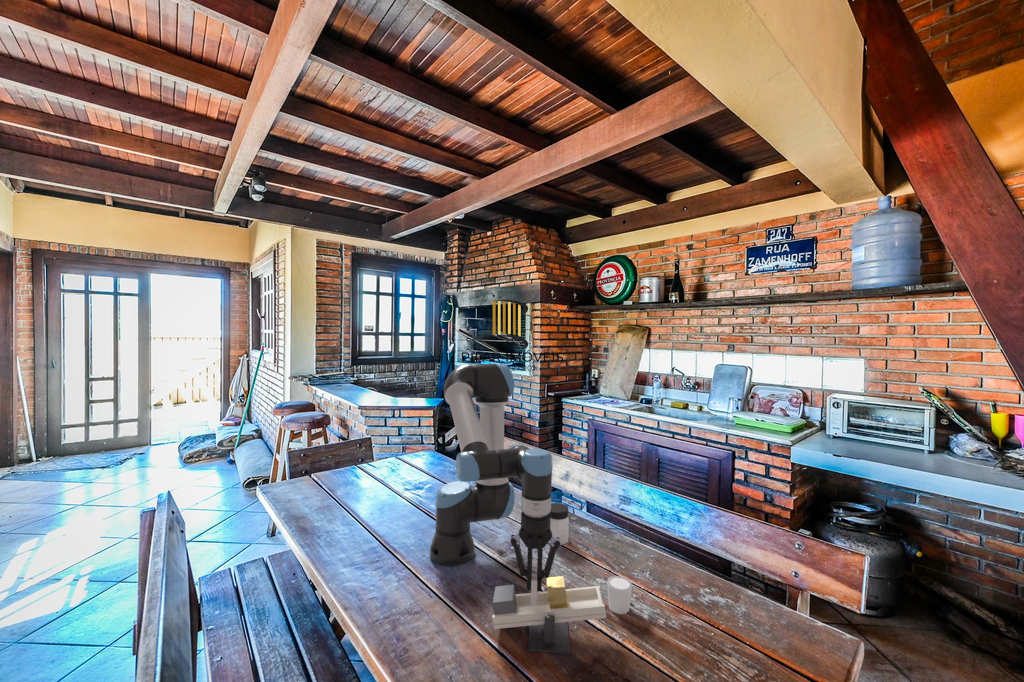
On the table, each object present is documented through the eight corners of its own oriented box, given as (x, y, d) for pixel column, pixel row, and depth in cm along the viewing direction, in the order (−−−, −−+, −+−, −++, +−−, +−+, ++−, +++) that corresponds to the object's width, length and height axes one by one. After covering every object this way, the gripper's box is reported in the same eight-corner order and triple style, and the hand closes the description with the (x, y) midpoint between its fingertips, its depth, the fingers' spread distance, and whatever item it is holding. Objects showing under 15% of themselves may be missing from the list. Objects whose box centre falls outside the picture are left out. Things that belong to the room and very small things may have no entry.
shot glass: (603, 599, 119) (604, 575, 119) (626, 598, 120) (627, 575, 119) (610, 616, 112) (611, 591, 112) (635, 615, 113) (636, 590, 112)
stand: (528, 650, 99) (529, 620, 99) (529, 610, 113) (530, 584, 113) (570, 653, 99) (570, 623, 99) (566, 613, 113) (566, 586, 113)
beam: (493, 630, 103) (490, 606, 102) (497, 606, 111) (494, 583, 111) (606, 619, 101) (603, 594, 100) (601, 595, 109) (598, 572, 109)
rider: (550, 613, 104) (546, 588, 103) (550, 601, 108) (546, 577, 108) (568, 612, 103) (564, 586, 103) (567, 600, 108) (563, 575, 108)
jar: (554, 548, 146) (555, 514, 145) (540, 538, 153) (540, 506, 152) (573, 541, 151) (574, 509, 150) (558, 531, 158) (559, 501, 157)
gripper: (509, 517, 102) (507, 610, 103) (562, 519, 101) (559, 613, 102) (511, 504, 109) (509, 590, 110) (560, 506, 109) (558, 594, 109)
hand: (533, 601), depth 106 cm, fingers closed
